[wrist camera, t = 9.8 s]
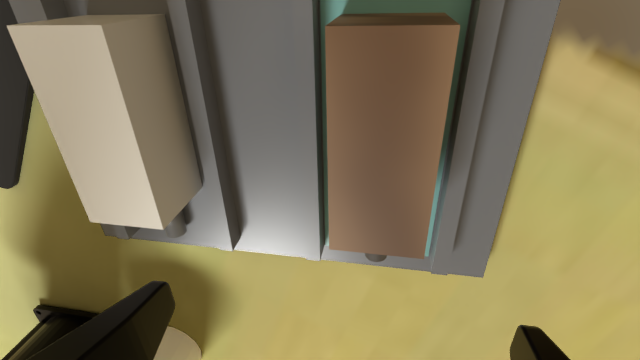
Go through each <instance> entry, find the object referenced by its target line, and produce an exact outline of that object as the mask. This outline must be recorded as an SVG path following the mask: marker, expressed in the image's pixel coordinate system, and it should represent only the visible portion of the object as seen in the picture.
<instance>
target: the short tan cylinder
mask: <svg viewBox="0 0 640 360" xmlns="http://www.w3.org/2000/svg"><path fill="white" fill-rule="evenodd" d="M201 358H202V356H201V349H200V348H199V346H198V345H197V343H196V342H195V341H194V340H193V339H192V338H191V337H189V336H188V335H187V334H186V333H184V332H182V331H180V330H178V329H176V328H173V327H169V326H168V327H167V329H166V331H165V334H164V336H163V338H162V341H161V343H160V346H159V348H158V350H157V353H156V355H155V357H154V360H201Z"/></svg>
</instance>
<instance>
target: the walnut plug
mask: <svg viewBox="0 0 640 360" xmlns="http://www.w3.org/2000/svg"><path fill="white" fill-rule="evenodd" d="M459 31H460V24H458V23H457V22H456V21H455V20H453V19H452V18H451V17H450V16H448V15H447V14H446V13H368V14H341V15H340V16H338V17H337V18H335V19H334V20H333V21H331V22H330V23H329V24H327V25H326V26H325V51H326V104H327V158H328V211H329V249H330V250H340V251H349V252H359V253H365V256H366V258H367V259H368V260H370V261H373V262H381V261H384V260H385V259H386V258H387V255H388V256H398V257H407V258H417V259H424V256H425V249H426V243H427V236H428V230H429V224H430V217H431V211H432V204H433V198H434V192H435V185H436V179H437V172H438V166H439V159H440V153H441V147H442V140H443V134H444V127H445V121H446V115H447V108H448V102H449V95H450V89H451V83H452V76H453V70H454V63H455V57H456V51H457V44H458V38H459Z"/></svg>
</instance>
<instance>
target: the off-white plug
mask: <svg viewBox="0 0 640 360" xmlns="http://www.w3.org/2000/svg"><path fill="white" fill-rule="evenodd" d="M6 26H7V28H8V31H9V33H10V35H11V38H12V40H13V42H14V45H15V47H16V49H17V52H18V54H19V56H20V59H21V61H22V63H23V66H24V68H25V70H26V73H27V75H28V77H29V80H30V82H31V84H32V87H33V89H34V91H35V94H36V96H37V98H38V101H39V103H40V105H41V108H42V110H43V113H44V115H45V117H46V120H47V122H48V124H49V127H50V129H51V131H52V134H53V136H54V138H55V141H56V143H57V145H58V148H59V150H60V152H61V155H62V157H63V159H64V162H65V164H66V166H67V169H68V171H69V173H70V176H71V178H72V180H73V183H74V185H75V187H76V190H77V192H78V194H79V197H80V199H81V202H82V204H83V206H84V209H85V211H86V213H87V216H88V218H89V220H90V222H94V223H103V224H113V225H122V226H132V227H142V228H151V229H161V230H164V229H165V232H166V235H167V237H169V238H177V237H180V236H182V235H184V234H185V233H186V232H187V227H186V223H185V219H184V216H183V212H182V209H183V208H184V207H185V206H186V205H187V203H188V202H189V201H190V200H191V199H192V198H193V197H194V196H195V195H196V194H197V193H198V191H199V190H200V189H201V188H202V183H201V178H200V173H199V169H198V164H197V160H196V155H195V151H194V146H193V141H192V137H191V132H190V128H189V123H188V119H187V114H186V110H185V105H184V100H183V96H182V91H181V87H180V82H179V78H178V73H177V69H176V64H175V59H174V55H173V50H172V46H171V41H170V37H169V32H168V28H167V23H166V18H165V14H138V15H83V16H75V17H67V18H60V19H52V20H45V21H37V22H29V23H22V24H14V25H6Z"/></svg>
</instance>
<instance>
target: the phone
mask: <svg viewBox="0 0 640 360" xmlns="http://www.w3.org/2000/svg"><path fill="white" fill-rule="evenodd" d="M14 24H18V22H17V20H16V17H15V15H14V12H13V10H12V7H11V5H10V3H9V0H0V187H2V188H5V189H9V188H12V187H13V186H15V185H17V183H18V181H19V177H20V172H21V166H22V160H23V154H24V148H25V142H26V136H27V130H28V124H29V118H30V112H31V106H32V100H33V94H34V89H33V87H32V84H31V82H30V80H29V77H28V75H27V73H26V70H25V68H24V66H23V63H22V61H21V59H20V56H19V54H18V52H17V49H16V47H15V45H14V42H13V40H12V38H11V35H10V33H9V31H8V28H7V26H6V25H14Z"/></svg>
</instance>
